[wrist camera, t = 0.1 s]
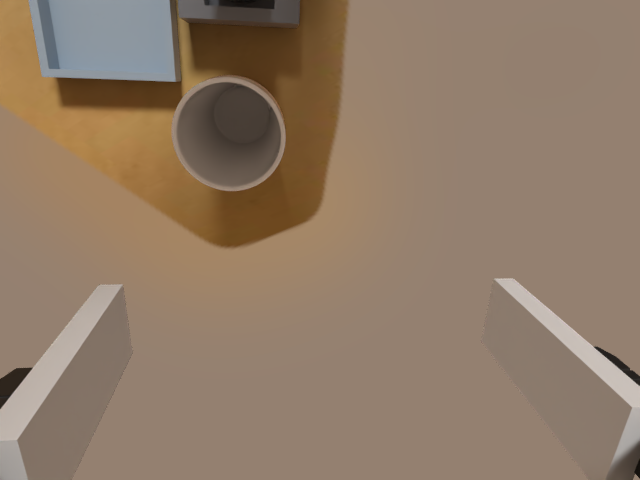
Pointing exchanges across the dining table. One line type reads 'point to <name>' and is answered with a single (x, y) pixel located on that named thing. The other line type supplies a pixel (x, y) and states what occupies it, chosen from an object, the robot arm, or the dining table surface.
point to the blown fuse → (243, 1)
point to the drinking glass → (229, 132)
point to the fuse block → (241, 12)
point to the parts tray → (107, 39)
